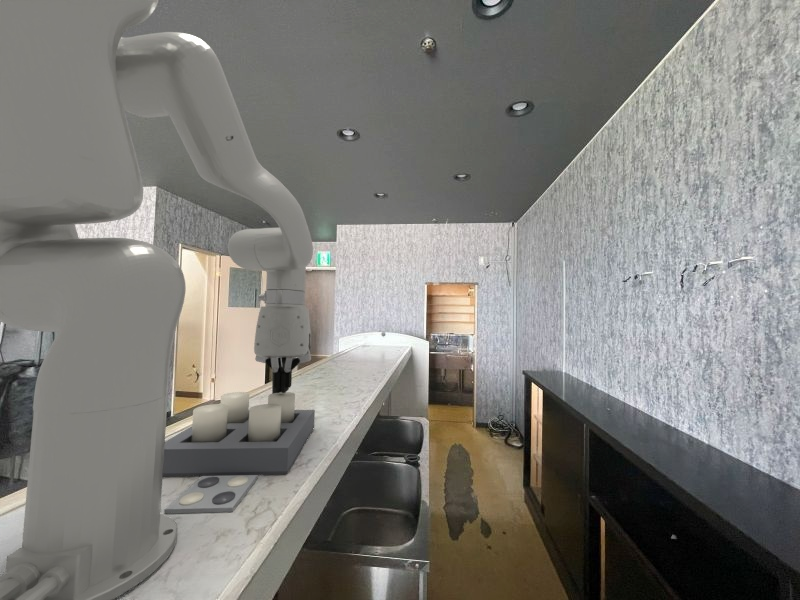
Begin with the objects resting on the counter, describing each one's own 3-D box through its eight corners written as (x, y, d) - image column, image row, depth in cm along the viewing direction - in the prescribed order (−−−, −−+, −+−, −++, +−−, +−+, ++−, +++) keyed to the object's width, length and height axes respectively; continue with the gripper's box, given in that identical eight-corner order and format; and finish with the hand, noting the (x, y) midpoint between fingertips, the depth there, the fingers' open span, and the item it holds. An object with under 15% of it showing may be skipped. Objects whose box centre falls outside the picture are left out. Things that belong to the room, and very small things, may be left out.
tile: (232, 511, 38) (232, 505, 38) (164, 513, 38) (164, 507, 38) (257, 478, 46) (257, 473, 46) (201, 479, 46) (202, 474, 46)
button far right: (290, 424, 59) (291, 398, 60) (263, 424, 59) (264, 398, 59) (296, 416, 64) (297, 392, 65) (272, 416, 64) (273, 392, 64)
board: (287, 474, 47) (288, 447, 48) (149, 477, 46) (151, 449, 46) (314, 428, 67) (314, 409, 68) (218, 429, 66) (219, 410, 66)
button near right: (274, 443, 50) (275, 412, 51) (242, 443, 50) (244, 412, 50) (283, 432, 55) (284, 403, 56) (255, 432, 55) (256, 403, 55)
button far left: (241, 425, 59) (242, 398, 59) (214, 425, 58) (215, 398, 59) (252, 416, 64) (253, 392, 64) (227, 416, 63) (228, 392, 64)
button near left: (217, 444, 50) (218, 412, 50) (184, 444, 49) (186, 412, 50) (231, 432, 55) (233, 404, 55) (202, 433, 54) (203, 404, 55)
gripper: (239, 298, 59) (235, 396, 58) (319, 299, 60) (316, 396, 59) (255, 300, 66) (251, 387, 65) (325, 301, 67) (323, 387, 66)
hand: (282, 391), depth 62 cm, fingers closed
